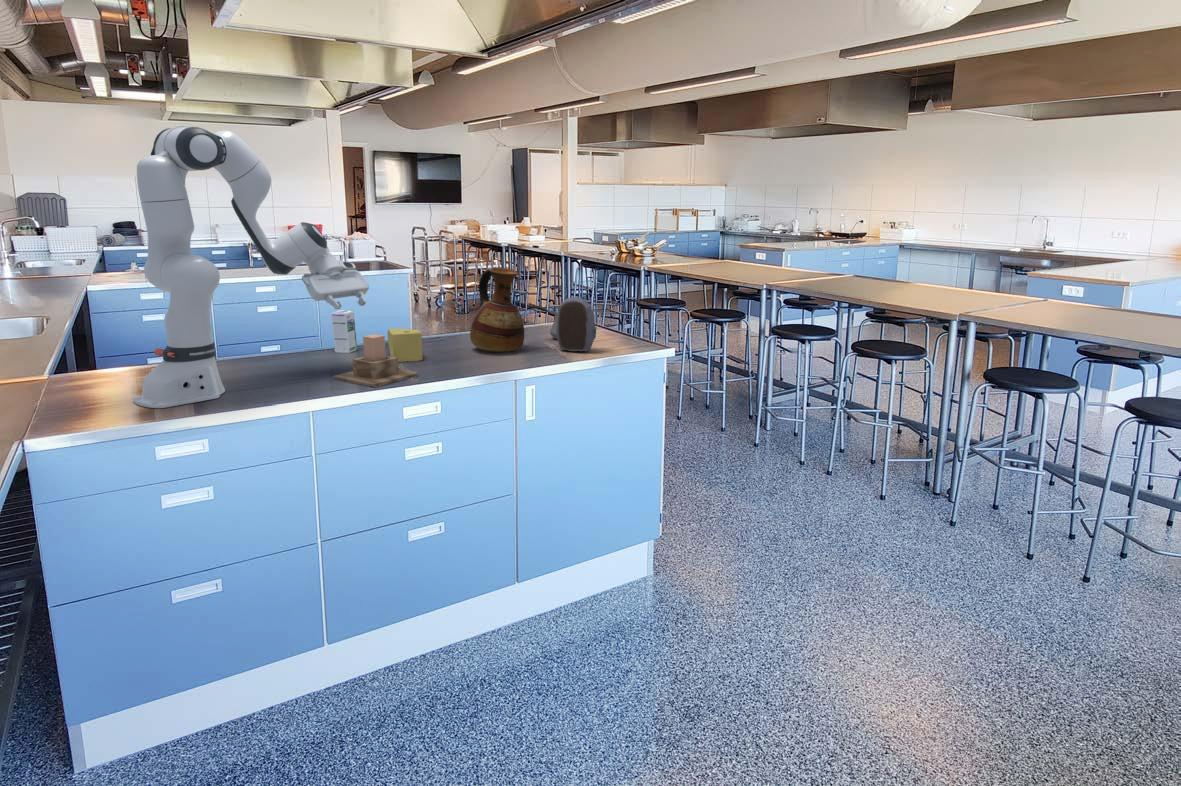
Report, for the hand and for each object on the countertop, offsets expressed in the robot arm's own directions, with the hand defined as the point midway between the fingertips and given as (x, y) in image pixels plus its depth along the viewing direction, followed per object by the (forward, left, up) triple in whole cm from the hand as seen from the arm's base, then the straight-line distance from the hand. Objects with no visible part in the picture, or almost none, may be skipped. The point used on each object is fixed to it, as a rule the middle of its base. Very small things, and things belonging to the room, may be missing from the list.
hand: (351, 306), depth 228 cm
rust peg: (0, -9, -20) cm, 22 cm away
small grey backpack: (+70, -37, -22) cm, 82 cm away
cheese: (+24, +3, -22) cm, 32 cm away
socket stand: (0, -9, -21) cm, 23 cm away
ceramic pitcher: (+54, -13, -22) cm, 60 cm away
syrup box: (+20, +29, -22) cm, 41 cm away
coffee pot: (+82, -18, -22) cm, 87 cm away
